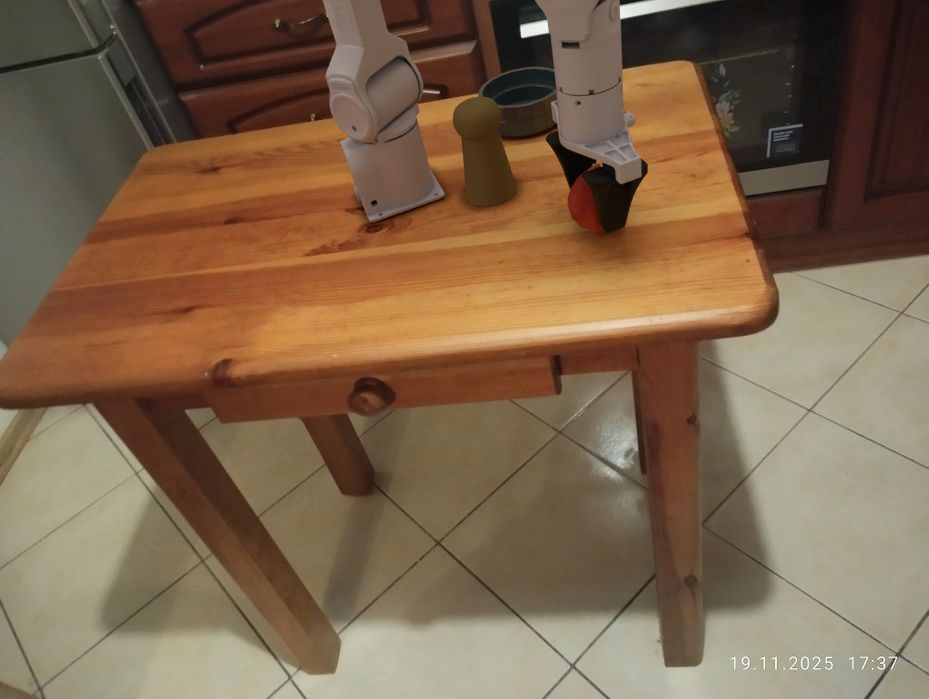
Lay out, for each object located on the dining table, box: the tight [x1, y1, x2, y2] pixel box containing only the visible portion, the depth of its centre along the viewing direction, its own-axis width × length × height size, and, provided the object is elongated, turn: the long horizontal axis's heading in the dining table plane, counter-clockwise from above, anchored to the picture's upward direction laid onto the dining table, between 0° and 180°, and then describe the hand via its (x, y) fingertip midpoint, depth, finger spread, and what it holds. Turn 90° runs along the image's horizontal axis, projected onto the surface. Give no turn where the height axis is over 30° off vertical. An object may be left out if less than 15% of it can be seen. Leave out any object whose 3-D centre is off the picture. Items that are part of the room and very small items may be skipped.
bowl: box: [477, 66, 557, 138], centre depth 88 cm, size 11×11×4 cm
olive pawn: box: [452, 96, 518, 208], centre depth 75 cm, size 6×6×11 cm
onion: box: [567, 162, 605, 235], centre depth 67 cm, size 6×6×8 cm
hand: (598, 211), depth 68 cm, fingers open, 6 cm apart
